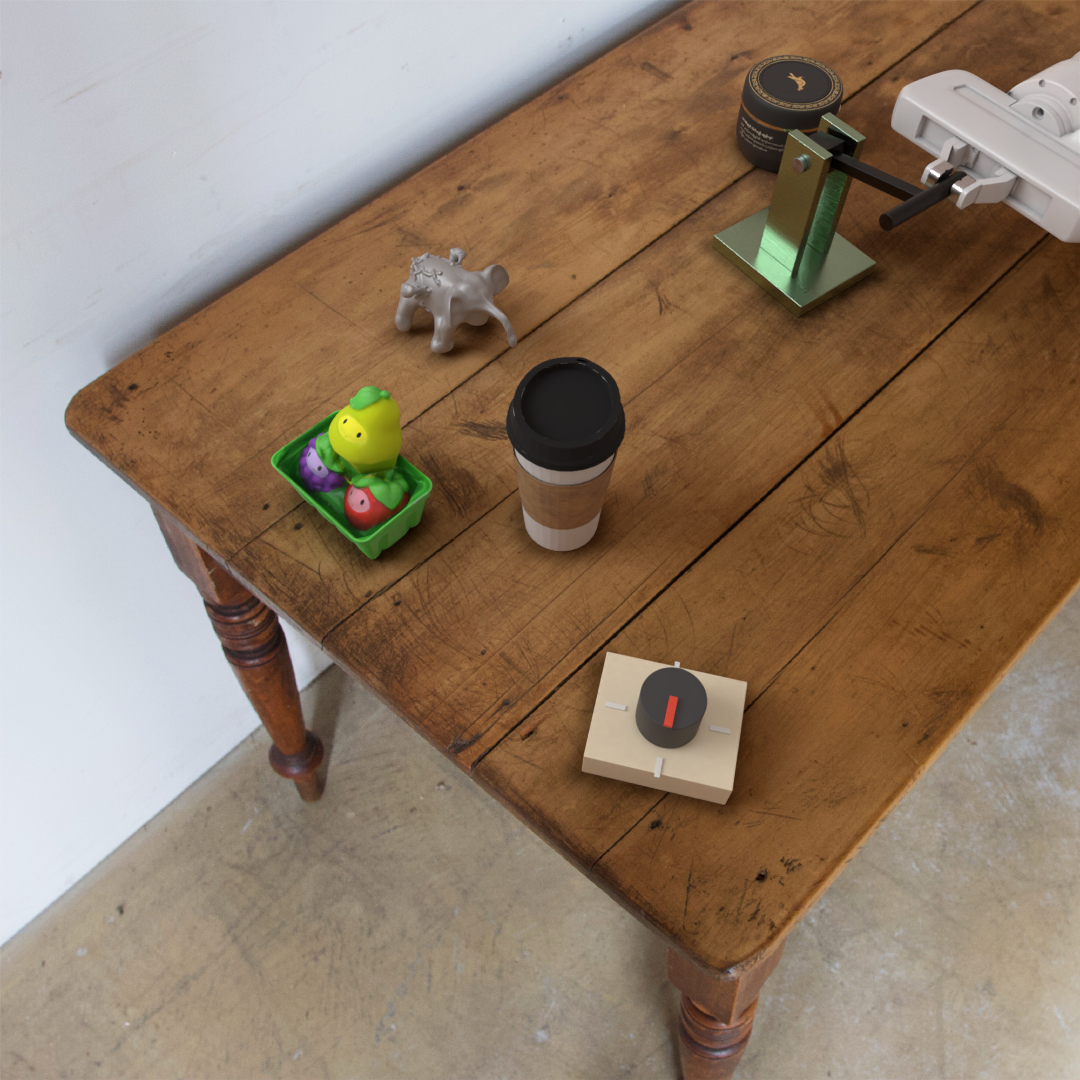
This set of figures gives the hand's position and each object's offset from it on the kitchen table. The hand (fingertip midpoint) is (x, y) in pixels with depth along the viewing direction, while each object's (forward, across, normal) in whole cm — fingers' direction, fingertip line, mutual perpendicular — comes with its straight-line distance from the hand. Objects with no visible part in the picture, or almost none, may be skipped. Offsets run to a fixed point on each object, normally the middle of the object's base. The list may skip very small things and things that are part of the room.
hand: (942, 188), depth 81 cm
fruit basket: (+50, -11, +14) cm, 53 cm away
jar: (-9, -24, +14) cm, 29 cm away
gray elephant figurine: (+33, -22, +14) cm, 42 cm away
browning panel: (+44, +19, +14) cm, 50 cm away
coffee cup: (+39, 0, +14) cm, 41 cm away
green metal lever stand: (+2, -11, +14) cm, 18 cm away
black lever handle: (+2, -6, +2) cm, 6 cm away
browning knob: (+44, +19, +11) cm, 49 cm away
